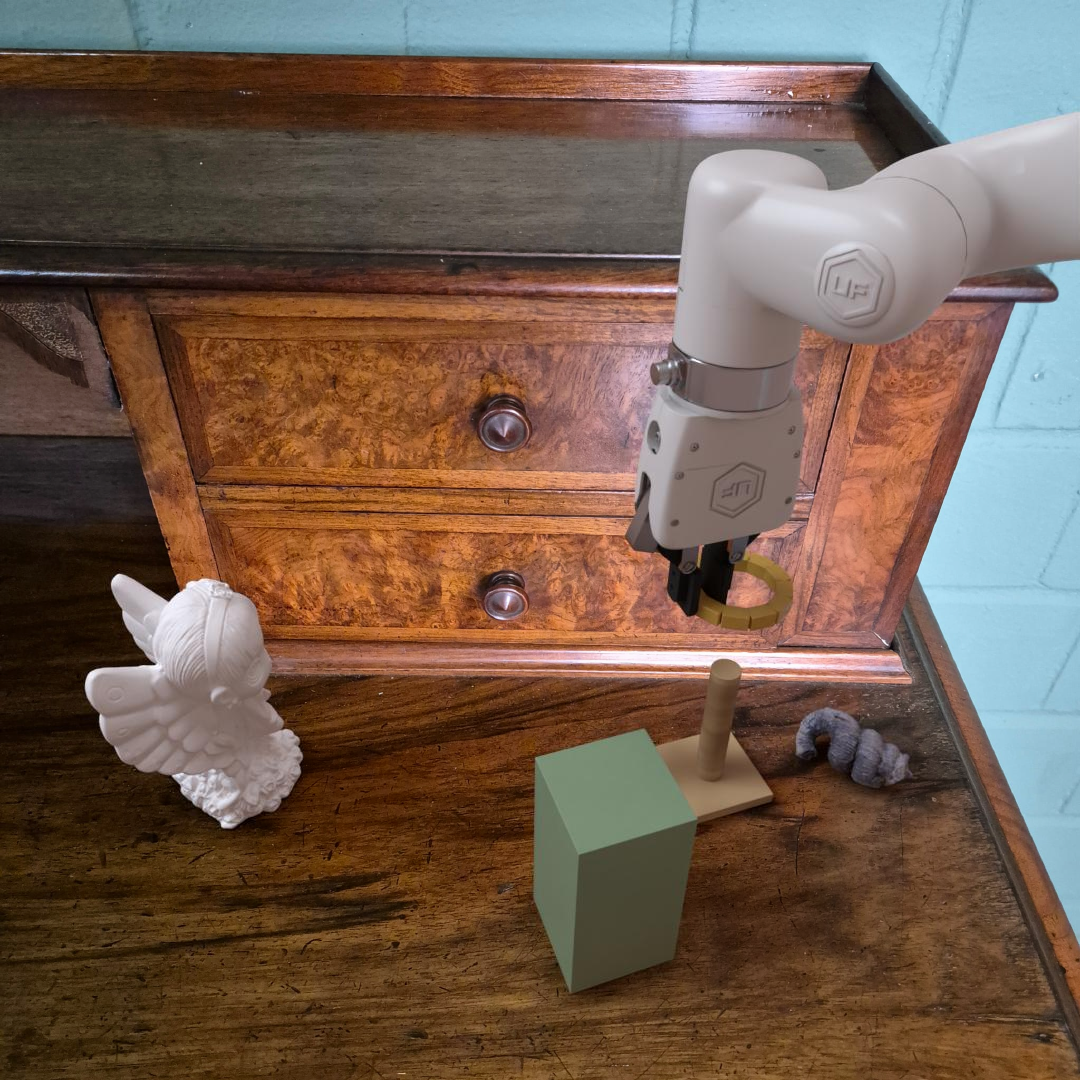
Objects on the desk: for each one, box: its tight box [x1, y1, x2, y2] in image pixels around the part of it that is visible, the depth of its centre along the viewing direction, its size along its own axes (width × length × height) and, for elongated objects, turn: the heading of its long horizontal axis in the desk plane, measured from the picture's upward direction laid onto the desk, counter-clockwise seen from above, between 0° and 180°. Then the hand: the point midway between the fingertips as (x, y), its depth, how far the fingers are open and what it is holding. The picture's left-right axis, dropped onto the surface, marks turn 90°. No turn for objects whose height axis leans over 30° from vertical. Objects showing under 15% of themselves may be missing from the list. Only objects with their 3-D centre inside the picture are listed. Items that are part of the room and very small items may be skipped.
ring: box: [695, 550, 794, 632], centre depth 69 cm, size 8×8×1 cm
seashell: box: [795, 706, 914, 789], centre depth 82 cm, size 5×5×10 cm
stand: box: [532, 728, 698, 995], centre depth 66 cm, size 8×8×16 cm
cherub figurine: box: [84, 573, 304, 830], centre depth 75 cm, size 13×12×20 cm
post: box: [655, 658, 774, 825], centre depth 78 cm, size 8×8×13 cm
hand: (696, 599), depth 69 cm, fingers closed on ring, 1 cm apart
